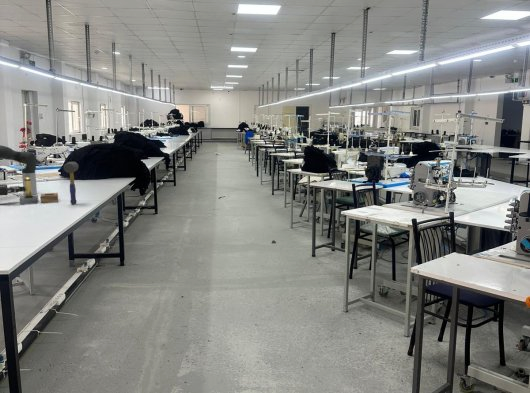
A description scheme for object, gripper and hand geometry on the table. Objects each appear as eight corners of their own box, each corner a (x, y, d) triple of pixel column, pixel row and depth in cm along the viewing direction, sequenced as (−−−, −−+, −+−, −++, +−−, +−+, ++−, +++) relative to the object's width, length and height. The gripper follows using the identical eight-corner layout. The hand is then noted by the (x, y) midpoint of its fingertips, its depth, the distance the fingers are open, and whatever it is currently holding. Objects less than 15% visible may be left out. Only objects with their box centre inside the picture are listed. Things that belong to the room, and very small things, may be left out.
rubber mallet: (76, 206, 297) (74, 162, 292) (65, 206, 296) (62, 162, 290) (81, 202, 309) (78, 160, 304) (70, 202, 308) (67, 160, 302)
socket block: (21, 201, 309) (20, 196, 309) (38, 200, 314) (38, 195, 313) (19, 204, 299) (19, 198, 298) (37, 203, 303) (37, 197, 303)
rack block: (41, 200, 315) (41, 193, 314) (58, 199, 319) (57, 192, 319) (40, 203, 304) (40, 196, 303) (58, 202, 309) (57, 195, 308)
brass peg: (26, 202, 307) (24, 177, 304) (32, 201, 309) (30, 177, 306) (25, 203, 304) (23, 178, 301) (32, 202, 305) (30, 177, 302)
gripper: (-3, 186, 290) (24, 185, 297) (0, 183, 303) (26, 182, 310) (-2, 197, 292) (25, 195, 298) (1, 193, 304) (27, 192, 311)
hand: (25, 188), depth 304 cm, fingers open, 8 cm apart
